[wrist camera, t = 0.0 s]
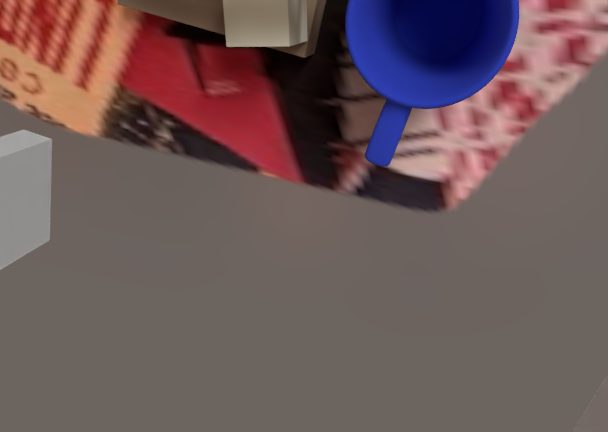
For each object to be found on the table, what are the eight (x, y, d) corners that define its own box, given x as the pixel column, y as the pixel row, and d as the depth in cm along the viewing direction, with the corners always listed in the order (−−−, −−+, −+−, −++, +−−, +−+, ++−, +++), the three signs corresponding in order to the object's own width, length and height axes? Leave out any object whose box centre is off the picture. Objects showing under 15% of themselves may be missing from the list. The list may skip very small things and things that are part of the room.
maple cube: (246, -24, 35) (220, -26, 31) (305, -27, 34) (286, -29, 30) (250, 41, 36) (226, 46, 33) (307, 40, 35) (289, 46, 32)
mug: (340, 109, 39) (302, 144, 30) (401, -73, 34) (377, -96, 25) (449, 149, 38) (443, 198, 29) (529, -31, 33) (552, -40, 24)
